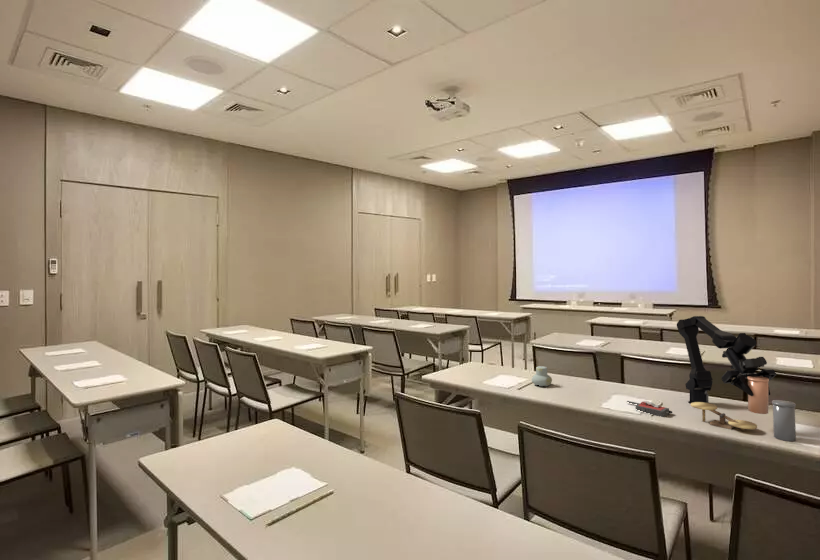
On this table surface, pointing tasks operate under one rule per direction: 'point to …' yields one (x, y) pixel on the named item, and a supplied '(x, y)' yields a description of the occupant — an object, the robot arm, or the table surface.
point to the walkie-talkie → (652, 408)
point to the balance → (722, 417)
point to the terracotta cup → (758, 394)
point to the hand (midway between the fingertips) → (760, 395)
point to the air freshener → (541, 377)
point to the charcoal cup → (784, 420)
